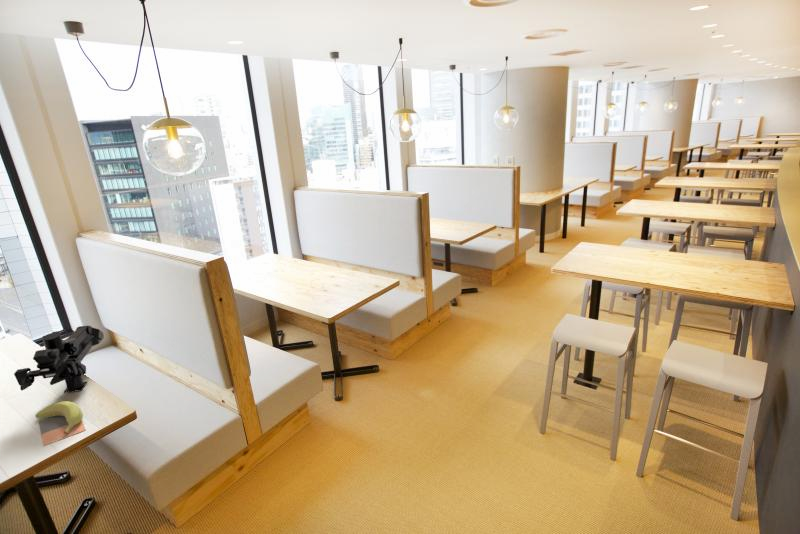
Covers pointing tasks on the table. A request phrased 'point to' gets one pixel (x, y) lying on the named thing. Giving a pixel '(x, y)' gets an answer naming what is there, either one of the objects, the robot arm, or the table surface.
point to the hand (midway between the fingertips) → (36, 386)
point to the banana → (63, 413)
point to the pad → (61, 433)
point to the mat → (52, 423)
